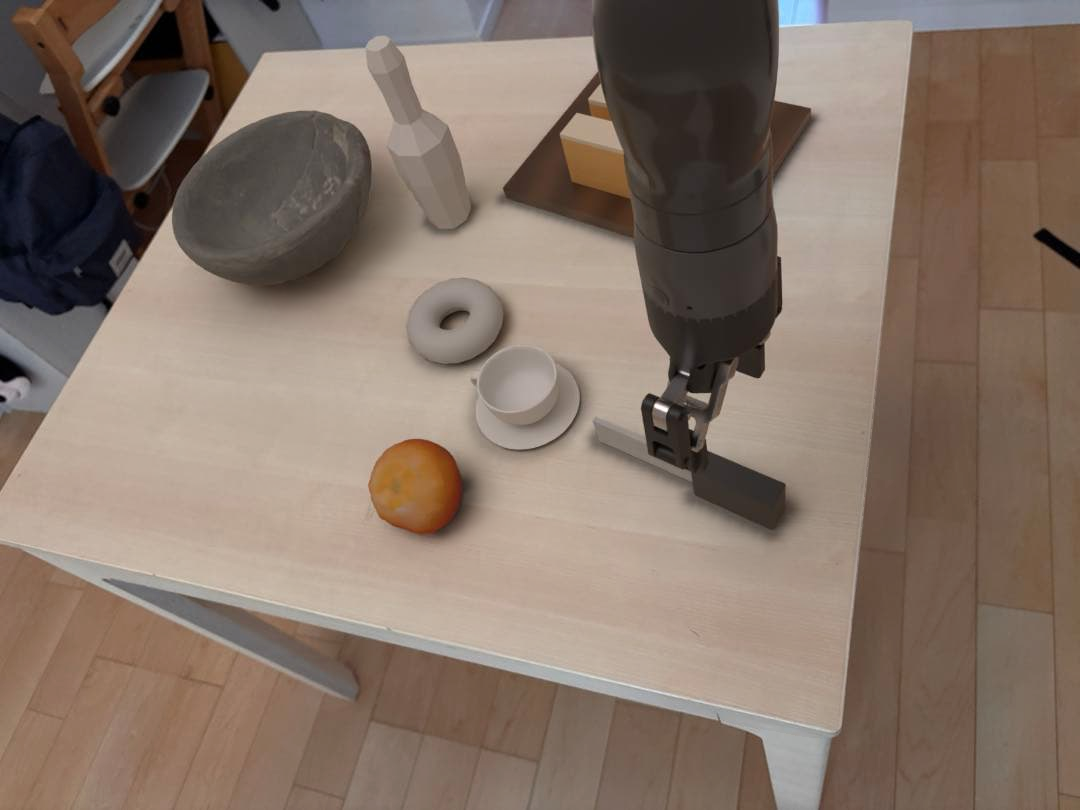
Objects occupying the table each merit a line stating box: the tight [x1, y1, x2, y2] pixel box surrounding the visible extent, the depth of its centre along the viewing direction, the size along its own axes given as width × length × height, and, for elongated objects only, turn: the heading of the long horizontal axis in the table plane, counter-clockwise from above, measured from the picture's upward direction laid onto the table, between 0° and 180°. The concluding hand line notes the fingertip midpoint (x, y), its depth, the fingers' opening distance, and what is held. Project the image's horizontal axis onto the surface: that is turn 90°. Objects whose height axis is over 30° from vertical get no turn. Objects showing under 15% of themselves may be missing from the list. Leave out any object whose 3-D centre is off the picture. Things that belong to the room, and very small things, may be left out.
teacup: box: [469, 344, 581, 450], centre depth 79 cm, size 10×10×5 cm
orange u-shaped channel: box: [560, 84, 631, 199], centre depth 90 cm, size 12×9×7 cm
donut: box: [405, 277, 504, 365], centre depth 87 cm, size 10×4×10 cm
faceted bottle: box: [365, 35, 472, 230], centre depth 89 cm, size 6×6×22 cm
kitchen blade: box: [592, 416, 787, 531], centre depth 72 cm, size 17×2×4 cm, turn 57°
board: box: [502, 71, 812, 239], centre depth 94 cm, size 26×22×2 cm
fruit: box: [367, 438, 464, 535], centre depth 75 cm, size 8×8×8 cm
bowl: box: [171, 110, 373, 286], centre depth 97 cm, size 23×22×10 cm
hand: (721, 416), depth 61 cm, fingers open, 8 cm apart
